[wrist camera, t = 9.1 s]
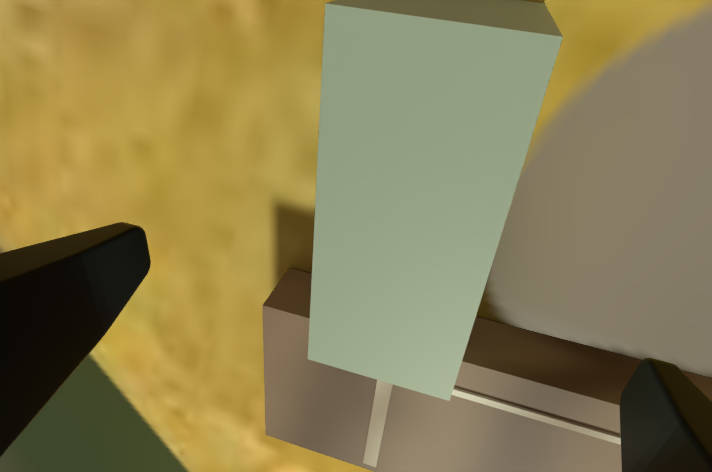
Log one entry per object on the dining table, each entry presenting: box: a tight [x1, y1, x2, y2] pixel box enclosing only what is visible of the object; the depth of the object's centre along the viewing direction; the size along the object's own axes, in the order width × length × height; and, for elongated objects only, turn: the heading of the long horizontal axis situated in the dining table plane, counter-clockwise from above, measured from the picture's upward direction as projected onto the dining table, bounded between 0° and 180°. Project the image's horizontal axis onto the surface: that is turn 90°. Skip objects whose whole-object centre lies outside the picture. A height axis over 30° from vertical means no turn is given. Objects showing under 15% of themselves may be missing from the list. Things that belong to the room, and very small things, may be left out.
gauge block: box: [308, 0, 563, 401], centre depth 13 cm, size 4×9×6 cm, turn 176°
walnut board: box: [263, 268, 712, 472], centre depth 18 cm, size 22×8×3 cm, turn 86°
